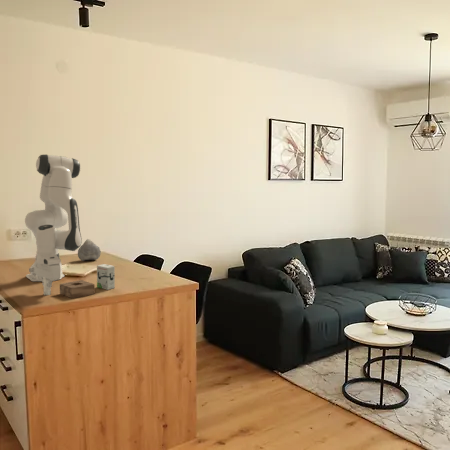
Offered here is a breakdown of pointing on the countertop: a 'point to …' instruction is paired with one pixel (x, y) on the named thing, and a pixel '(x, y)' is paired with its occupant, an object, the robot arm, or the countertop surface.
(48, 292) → the pin
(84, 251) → the decorative stone
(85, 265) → the countertop surface
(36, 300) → the countertop surface
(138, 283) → the countertop surface
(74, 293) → the bore block
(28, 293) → the countertop surface
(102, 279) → the ink box
